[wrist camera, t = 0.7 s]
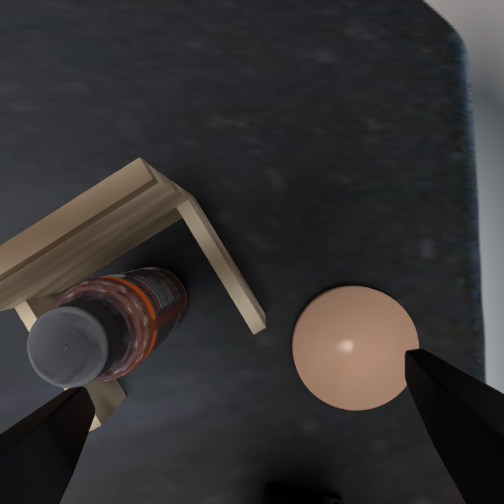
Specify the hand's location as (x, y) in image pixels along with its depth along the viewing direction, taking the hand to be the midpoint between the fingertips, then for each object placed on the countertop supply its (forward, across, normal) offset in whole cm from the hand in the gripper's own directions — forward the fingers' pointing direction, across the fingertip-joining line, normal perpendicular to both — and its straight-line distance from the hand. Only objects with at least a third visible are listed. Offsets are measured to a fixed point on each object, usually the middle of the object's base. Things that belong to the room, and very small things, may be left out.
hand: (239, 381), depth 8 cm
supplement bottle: (+16, +10, +5) cm, 19 cm away
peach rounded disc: (+14, -6, +11) cm, 19 cm away
